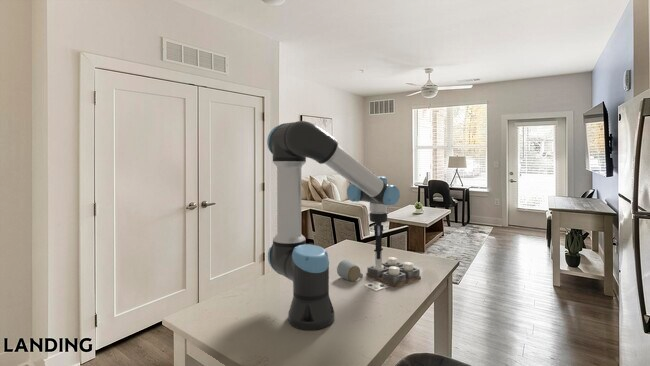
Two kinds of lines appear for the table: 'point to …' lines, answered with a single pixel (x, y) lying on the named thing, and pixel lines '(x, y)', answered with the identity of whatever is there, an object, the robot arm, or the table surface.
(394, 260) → the button far left
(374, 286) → the card
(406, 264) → the button far right
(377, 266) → the button near left
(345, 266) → the ceramic mug
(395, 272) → the button near right
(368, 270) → the button board
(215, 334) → the table surface
